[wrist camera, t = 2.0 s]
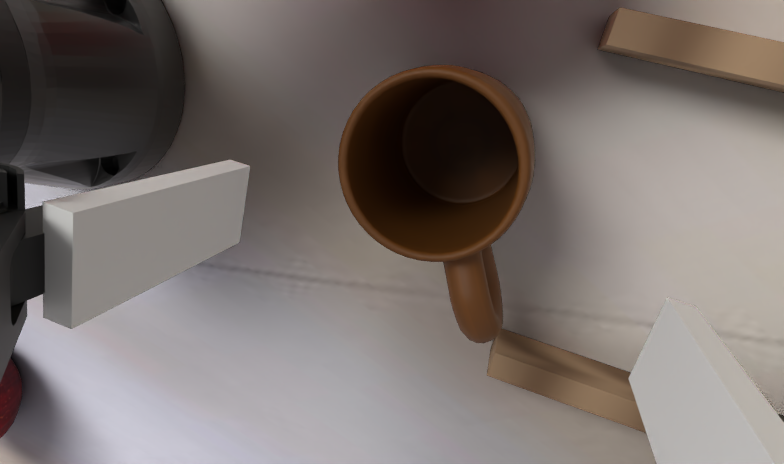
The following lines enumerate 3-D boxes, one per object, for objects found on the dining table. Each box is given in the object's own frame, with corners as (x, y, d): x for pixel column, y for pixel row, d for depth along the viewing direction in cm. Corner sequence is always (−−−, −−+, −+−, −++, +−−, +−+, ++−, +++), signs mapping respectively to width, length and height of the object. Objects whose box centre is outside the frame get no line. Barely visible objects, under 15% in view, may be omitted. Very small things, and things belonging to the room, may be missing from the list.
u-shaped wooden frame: (490, 348, 30) (485, 385, 26) (608, 16, 23) (624, 3, 20) (853, 475, 26) (907, 540, 22) (1110, 126, 20) (1244, 135, 16)
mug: (565, 268, 27) (581, 353, 18) (435, 291, 30) (396, 376, 21) (514, 50, 25) (506, 30, 16) (378, 95, 27) (307, 99, 19)
